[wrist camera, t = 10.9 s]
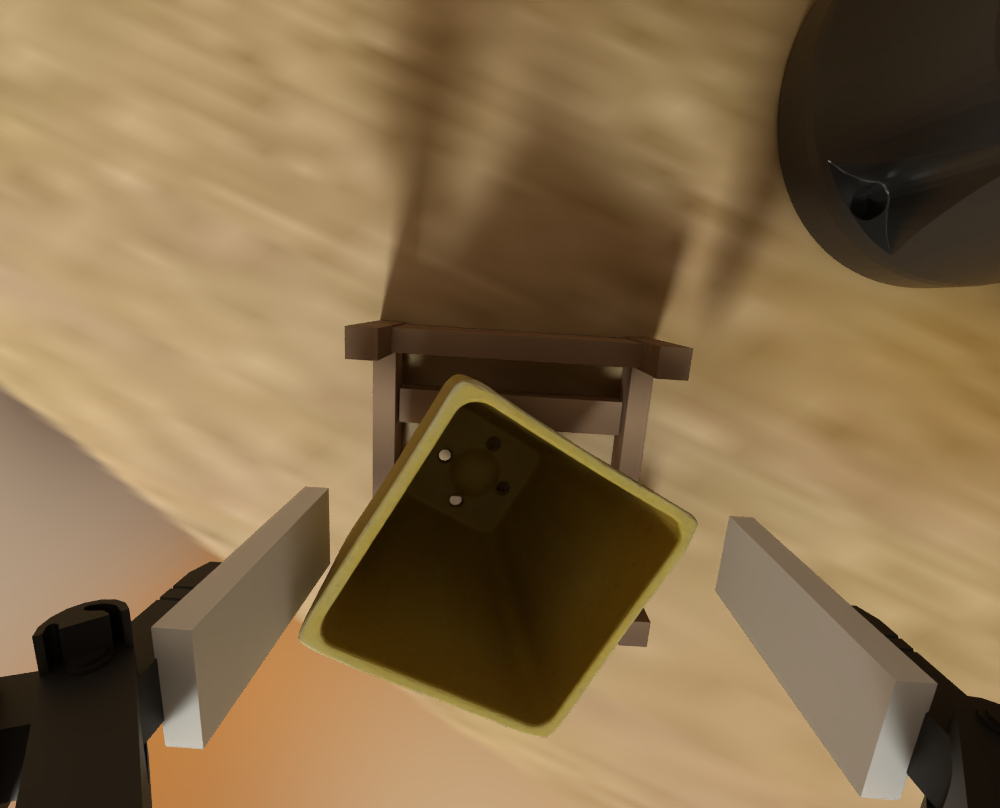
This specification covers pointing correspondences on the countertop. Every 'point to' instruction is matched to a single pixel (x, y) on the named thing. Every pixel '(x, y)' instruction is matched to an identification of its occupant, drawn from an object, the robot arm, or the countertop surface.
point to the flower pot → (495, 565)
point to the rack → (553, 410)
